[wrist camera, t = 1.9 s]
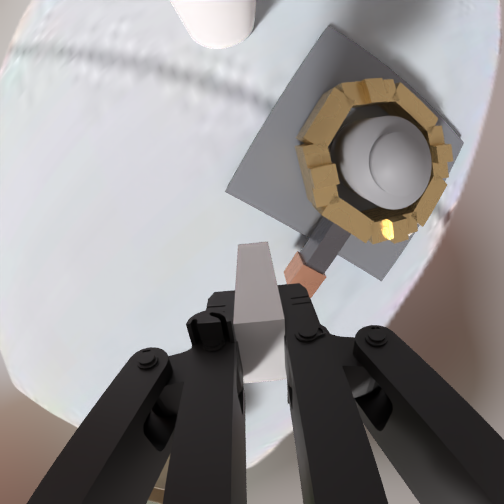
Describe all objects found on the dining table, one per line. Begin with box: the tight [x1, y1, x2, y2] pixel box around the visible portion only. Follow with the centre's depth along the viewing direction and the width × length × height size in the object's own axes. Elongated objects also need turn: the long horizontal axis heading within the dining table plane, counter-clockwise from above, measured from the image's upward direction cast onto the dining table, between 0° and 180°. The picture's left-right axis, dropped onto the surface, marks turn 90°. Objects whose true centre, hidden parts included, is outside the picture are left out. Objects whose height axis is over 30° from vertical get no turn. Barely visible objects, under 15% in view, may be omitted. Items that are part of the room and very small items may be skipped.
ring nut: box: [284, 78, 453, 298], centre depth 22 cm, size 21×14×4 cm, turn 151°
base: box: [225, 26, 464, 281], centre depth 21 cm, size 20×20×8 cm
